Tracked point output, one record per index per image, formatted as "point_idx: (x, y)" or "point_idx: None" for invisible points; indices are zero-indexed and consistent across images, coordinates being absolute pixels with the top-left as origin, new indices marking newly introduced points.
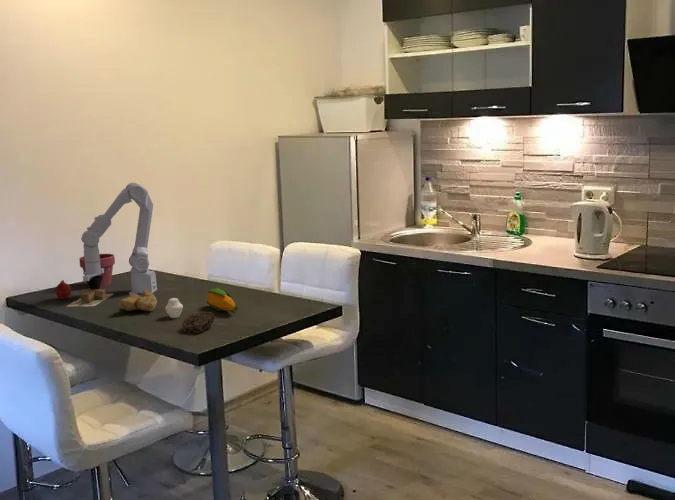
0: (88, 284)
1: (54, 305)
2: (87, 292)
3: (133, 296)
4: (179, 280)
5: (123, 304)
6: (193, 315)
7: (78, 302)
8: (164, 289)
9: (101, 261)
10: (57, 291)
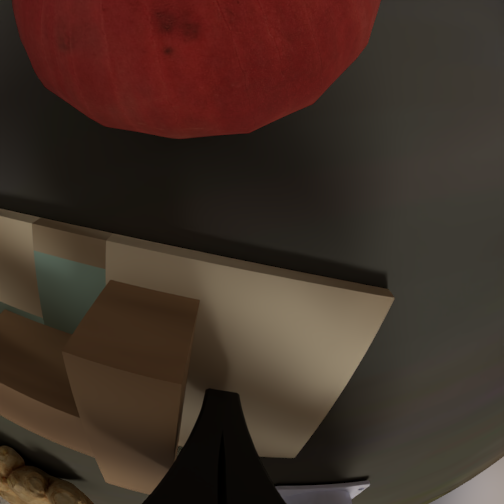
0: (153, 492)
1: (10, 37)
2: (29, 411)
3: (23, 499)
4: (425, 498)
5: None
6: None
7: (20, 275)
8: None
9: None
10: None
